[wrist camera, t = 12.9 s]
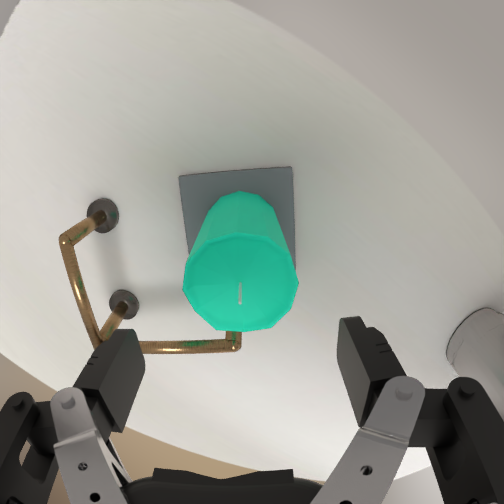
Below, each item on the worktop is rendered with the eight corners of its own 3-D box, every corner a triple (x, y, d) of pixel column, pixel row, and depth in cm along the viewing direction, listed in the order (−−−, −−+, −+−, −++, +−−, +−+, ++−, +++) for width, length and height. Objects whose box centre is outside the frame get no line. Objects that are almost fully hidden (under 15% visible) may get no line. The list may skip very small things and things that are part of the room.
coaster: (291, 166, 24) (292, 167, 24) (294, 268, 28) (295, 271, 27) (179, 175, 25) (178, 176, 24) (193, 276, 28) (192, 279, 27)
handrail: (242, 181, 25) (240, 201, 18) (252, 310, 29) (255, 363, 22) (86, 200, 25) (41, 225, 18) (115, 316, 29) (88, 363, 22)
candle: (201, 193, 24) (166, 246, 13) (277, 188, 25) (305, 238, 13) (208, 262, 27) (186, 354, 16) (279, 258, 27) (302, 348, 16)
